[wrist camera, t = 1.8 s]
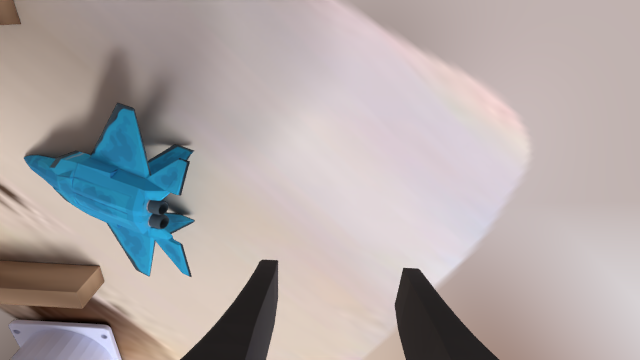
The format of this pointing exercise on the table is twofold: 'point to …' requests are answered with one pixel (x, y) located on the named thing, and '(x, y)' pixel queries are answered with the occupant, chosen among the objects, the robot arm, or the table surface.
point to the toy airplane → (125, 188)
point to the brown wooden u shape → (44, 278)
